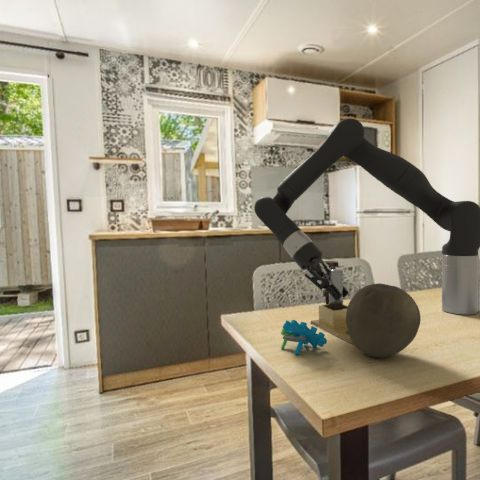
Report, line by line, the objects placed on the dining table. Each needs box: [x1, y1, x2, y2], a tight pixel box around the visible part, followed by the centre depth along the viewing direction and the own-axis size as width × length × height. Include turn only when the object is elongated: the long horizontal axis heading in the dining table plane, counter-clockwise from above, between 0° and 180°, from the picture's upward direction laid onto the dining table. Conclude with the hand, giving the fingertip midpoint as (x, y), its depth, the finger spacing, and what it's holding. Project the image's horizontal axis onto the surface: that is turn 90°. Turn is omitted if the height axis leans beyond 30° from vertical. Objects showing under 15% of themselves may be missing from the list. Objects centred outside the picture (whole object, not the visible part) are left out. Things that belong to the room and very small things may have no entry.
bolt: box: [322, 260, 339, 305], centre depth 115 cm, size 6×5×15 cm
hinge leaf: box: [310, 303, 354, 345], centre depth 91 cm, size 12×18×5 cm, turn 20°
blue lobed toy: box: [280, 319, 328, 356], centre depth 76 cm, size 11×6×10 cm
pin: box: [329, 268, 344, 310], centre depth 94 cm, size 4×4×12 cm
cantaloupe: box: [346, 282, 421, 359], centre depth 73 cm, size 14×14×15 cm
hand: (342, 296), depth 92 cm, fingers closed on pin, 3 cm apart
